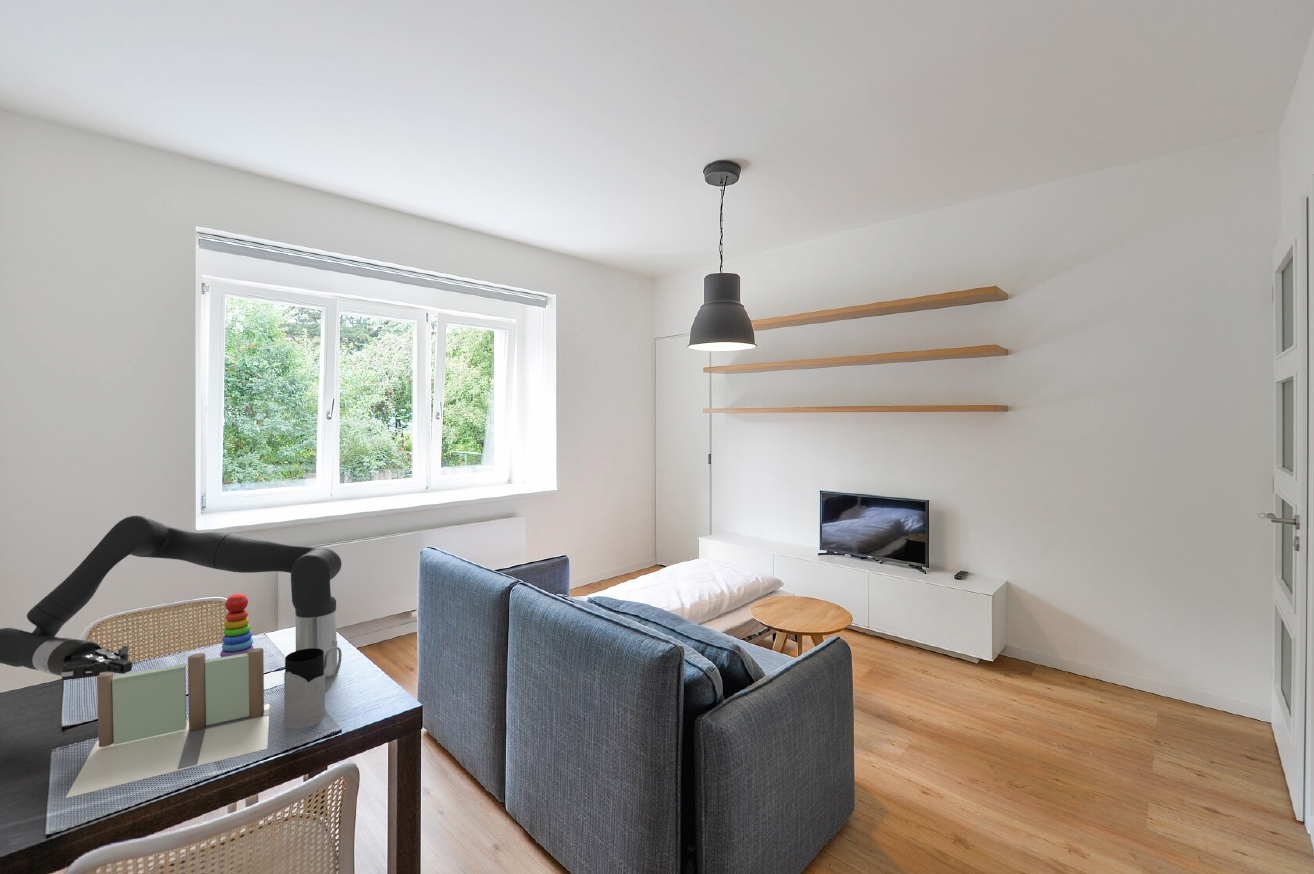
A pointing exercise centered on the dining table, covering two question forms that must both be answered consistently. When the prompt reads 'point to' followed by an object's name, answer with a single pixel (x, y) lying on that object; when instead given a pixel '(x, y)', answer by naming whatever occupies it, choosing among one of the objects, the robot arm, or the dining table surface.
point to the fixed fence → (225, 688)
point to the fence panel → (141, 704)
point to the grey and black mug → (306, 686)
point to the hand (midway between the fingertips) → (127, 667)
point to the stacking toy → (236, 627)
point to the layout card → (170, 753)
